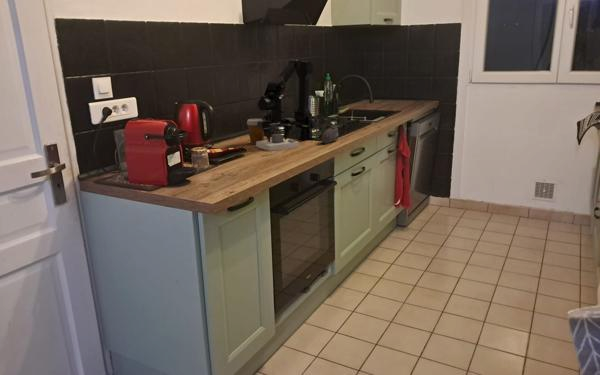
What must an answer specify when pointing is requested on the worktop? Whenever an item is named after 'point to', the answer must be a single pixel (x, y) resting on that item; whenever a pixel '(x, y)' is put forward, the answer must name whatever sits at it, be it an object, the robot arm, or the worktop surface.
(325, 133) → the perforated stone tool
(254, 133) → the disposable coffee cup
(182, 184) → the worktop surface
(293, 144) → the socket plate
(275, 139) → the grey cylinder
